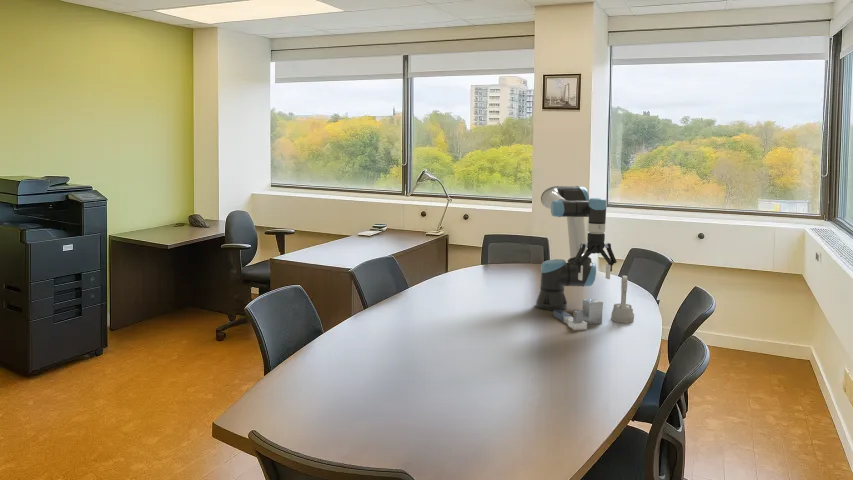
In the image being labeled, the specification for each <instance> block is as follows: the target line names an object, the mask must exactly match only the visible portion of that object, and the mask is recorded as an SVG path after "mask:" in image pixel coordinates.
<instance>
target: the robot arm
mask: <svg viewBox="0 0 853 480" xmlns="http://www.w3.org/2000/svg"><path fill="white" fill-rule="evenodd" d="M540 202H541V204H542V205H543V206H544V207H545V208H546V209H550V213H551V216H552V217H556V218H562V217H563V218H564V217H565V218H566V222H567V234H568V235H567V236H568V245H569V255H570V257H569V258H568V259H567V262H566V260H565V259H562V258H561V259H560V258H559V259H558V258H555V259H548V260H545V261H543V262H542V263H541V264H540V265H541V267H540V285H539V286H540V287H539V288H540V289H539V293H538V296H537V298H536V301H535V306H536V308H538V309H541V310H546V311H554V310H563V311H564V310H566V309H567V308H568V301H567V299H566V294H565V287H583V288H584V287H591V286H593V285H594V283H595V280H596V276H597V264H596V263H595V262H592V258H591V257H590V256H591V255H592V254H600V255H601V256H602V257H603V258H604V260H605V261H606V264H605V279H607V280H610V279H611V273H612V271H613V266H614V265H615V264H617V259H616V257H615V254H614V252H613V250H612V243H610V242H606V243H605V237H606V235H605V232H606V219H607V218H606V217H607V207H608V206H607V199H606V198H603V197H591V198H590V196H589V191H588V189H587V188H586V187H585V186H579V185H575V186H572V185H570V186H568V185H567V186H566V185H565V186H563V185H562V186H560V185H556V186H555V185H554V186H551V187H548V188H546V189H544V191H543V192H542V194H541V196H540ZM585 218H588V221H587V222H588V223H587V232H586V223H585ZM604 249H606V251H607V253H606V251H605V250H604Z"/></svg>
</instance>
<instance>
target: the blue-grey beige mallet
mask: <svg viewBox="0 0 853 480" xmlns="http://www.w3.org/2000/svg"><path fill="white" fill-rule="evenodd" d="M572 314H573V316H572V315H571V314H570V313H568V312H566V311H564V309H563V310H553V317H555V318H556V319H558V320H559V321H560V322H563V323H565V324H566V325H567V327H568V328H569V329H571V330H573V331H583V330H587V329H588V323H586V322H585V321H583V312H582V310H573V313H572Z"/></svg>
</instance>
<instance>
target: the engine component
mask: <svg viewBox="0 0 853 480" xmlns="http://www.w3.org/2000/svg"><path fill="white" fill-rule="evenodd" d="M620 283H621V285H620V286H621V287H620V289H621V290H620V291H621V294H620V295H621V296H620V303H614V304H613V309H612V311H611V314H610V315H611V317H610V319H611V320H612V321H614V322H617V323H625V324H626V323H633V322H634V321H635V313H634V311H633V310H634V309H633V308H632V305H631V304H630V303H629V304H628V303H627V292H628V276H627V275H622V276H621V281H620Z"/></svg>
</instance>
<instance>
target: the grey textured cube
mask: <svg viewBox="0 0 853 480" xmlns="http://www.w3.org/2000/svg"><path fill="white" fill-rule="evenodd" d="M603 306H604V302H603V301H601V300H599V299H597V298H587V299H586V298H584V299H582V307H581V308H582V310H581V311H582V312H583V321H585V322H586V323H587V325H593V324H594V325H595V324H603V309H604V307H603Z"/></svg>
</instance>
